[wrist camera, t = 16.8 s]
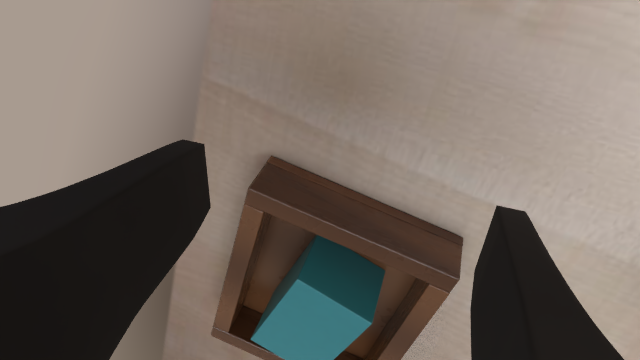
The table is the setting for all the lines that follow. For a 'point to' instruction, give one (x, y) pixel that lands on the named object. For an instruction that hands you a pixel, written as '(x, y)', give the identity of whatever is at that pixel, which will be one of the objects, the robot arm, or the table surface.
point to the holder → (344, 229)
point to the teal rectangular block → (320, 303)
